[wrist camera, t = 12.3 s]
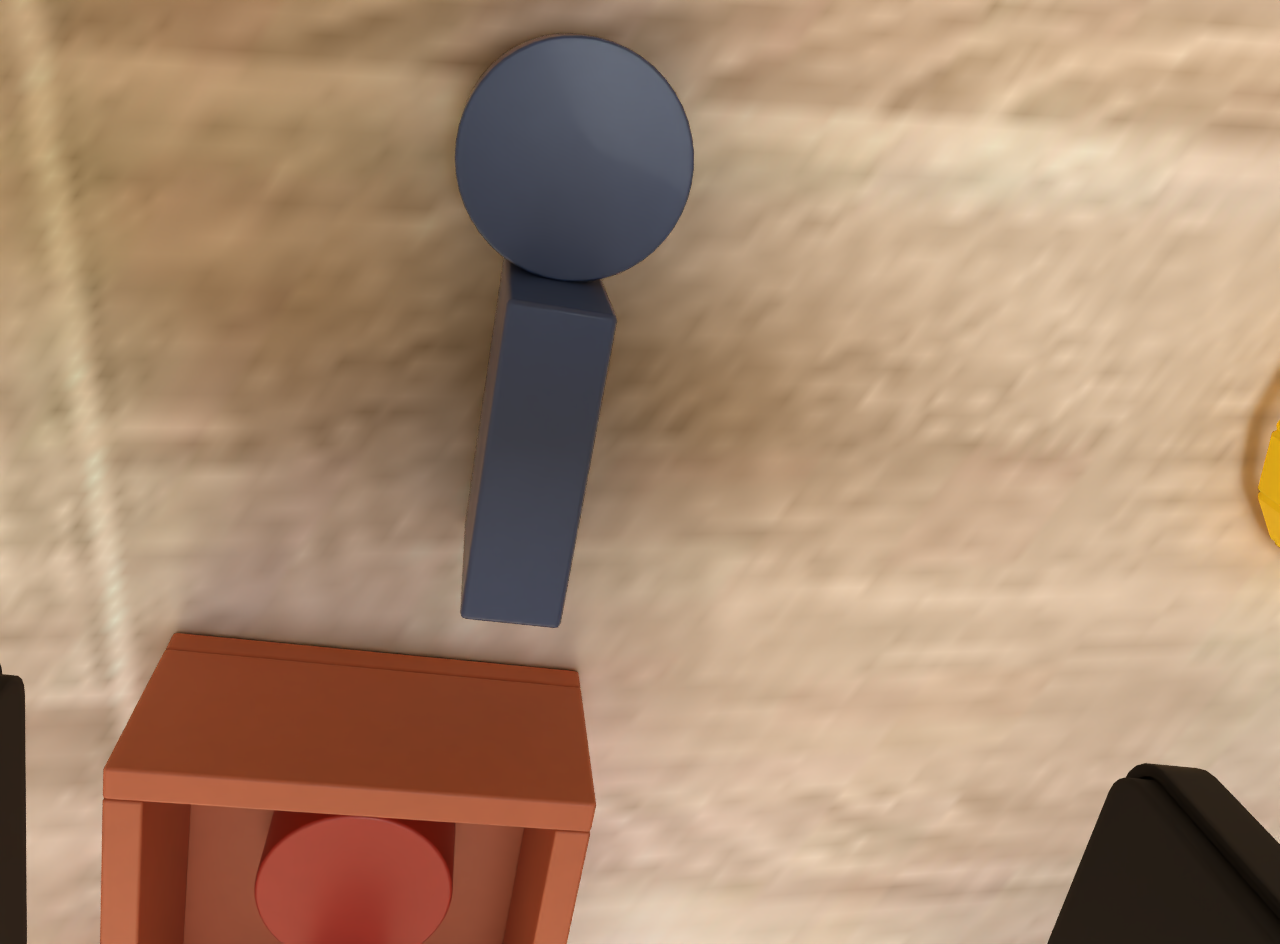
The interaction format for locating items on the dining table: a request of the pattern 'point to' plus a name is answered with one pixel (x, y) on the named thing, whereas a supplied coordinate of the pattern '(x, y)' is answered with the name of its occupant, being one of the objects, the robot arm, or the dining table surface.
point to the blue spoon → (555, 290)
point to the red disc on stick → (354, 878)
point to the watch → (1271, 487)
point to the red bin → (342, 783)
